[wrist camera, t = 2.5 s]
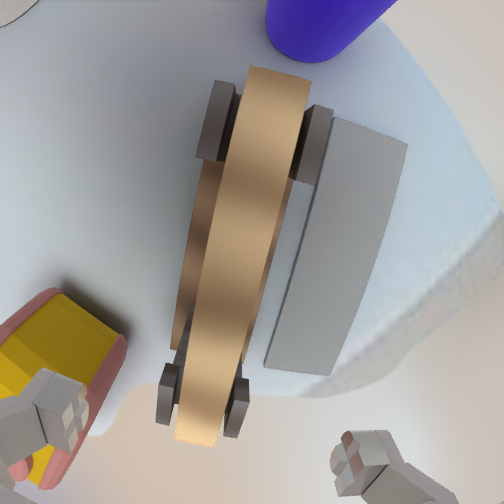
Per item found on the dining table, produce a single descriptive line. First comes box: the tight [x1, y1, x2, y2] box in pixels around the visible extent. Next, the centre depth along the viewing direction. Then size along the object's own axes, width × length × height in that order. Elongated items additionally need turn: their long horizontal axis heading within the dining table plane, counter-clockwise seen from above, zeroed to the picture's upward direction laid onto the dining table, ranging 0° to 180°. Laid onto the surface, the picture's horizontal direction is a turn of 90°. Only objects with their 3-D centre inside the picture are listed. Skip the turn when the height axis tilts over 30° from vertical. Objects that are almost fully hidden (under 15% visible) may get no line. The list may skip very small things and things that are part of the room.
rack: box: [156, 80, 334, 438], centre depth 24 cm, size 26×8×14 cm, turn 167°
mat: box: [264, 117, 408, 376], centre depth 31 cm, size 27×8×1 cm, turn 166°
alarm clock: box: [0, 288, 127, 490], centre depth 24 cm, size 18×11×19 cm, turn 144°
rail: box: [174, 65, 311, 447], centre depth 18 cm, size 24×3×3 cm, turn 167°
